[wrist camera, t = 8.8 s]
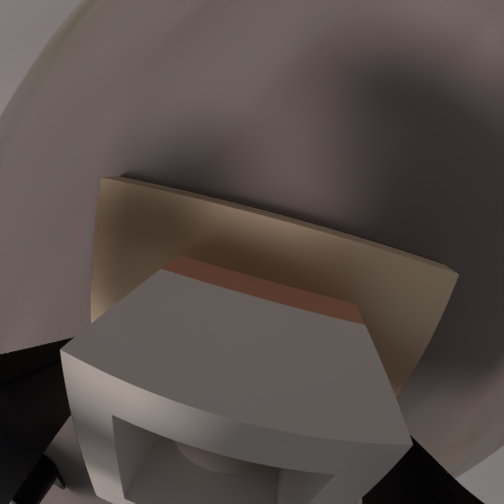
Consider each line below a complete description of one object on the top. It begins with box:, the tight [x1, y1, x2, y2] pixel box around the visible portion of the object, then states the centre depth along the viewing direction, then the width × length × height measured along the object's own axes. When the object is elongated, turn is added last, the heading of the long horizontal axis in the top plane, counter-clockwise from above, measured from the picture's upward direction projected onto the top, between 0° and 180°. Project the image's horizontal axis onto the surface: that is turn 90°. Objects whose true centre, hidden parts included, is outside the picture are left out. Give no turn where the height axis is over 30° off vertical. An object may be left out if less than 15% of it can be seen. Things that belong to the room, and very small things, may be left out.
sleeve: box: [60, 255, 413, 504], centre depth 7 cm, size 6×6×6 cm
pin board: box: [91, 176, 459, 475], centre depth 10 cm, size 20×13×6 cm, turn 166°
